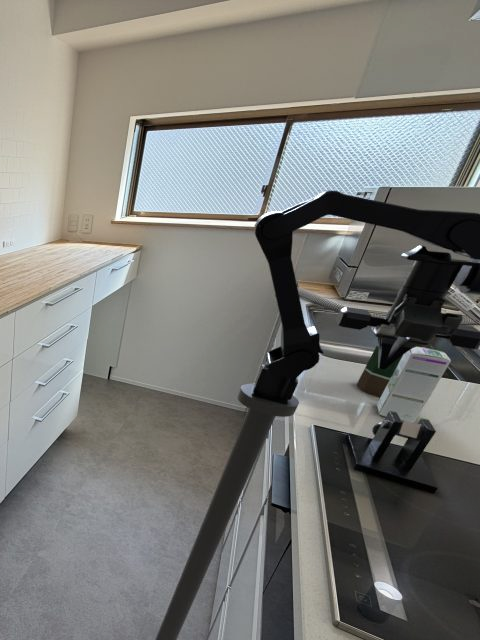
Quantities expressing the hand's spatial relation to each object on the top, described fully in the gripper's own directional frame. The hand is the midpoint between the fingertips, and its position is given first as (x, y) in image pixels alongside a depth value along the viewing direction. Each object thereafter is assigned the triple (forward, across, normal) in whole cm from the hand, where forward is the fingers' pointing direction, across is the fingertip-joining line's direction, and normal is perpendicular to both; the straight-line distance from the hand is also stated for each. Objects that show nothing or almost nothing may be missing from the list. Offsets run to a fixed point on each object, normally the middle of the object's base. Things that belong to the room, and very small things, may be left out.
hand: (381, 368), depth 79 cm
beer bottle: (+12, +7, +23) cm, 27 cm away
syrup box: (+12, +8, +10) cm, 18 cm away
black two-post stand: (+12, +3, -15) cm, 19 cm away
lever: (+9, +3, -12) cm, 15 cm away
